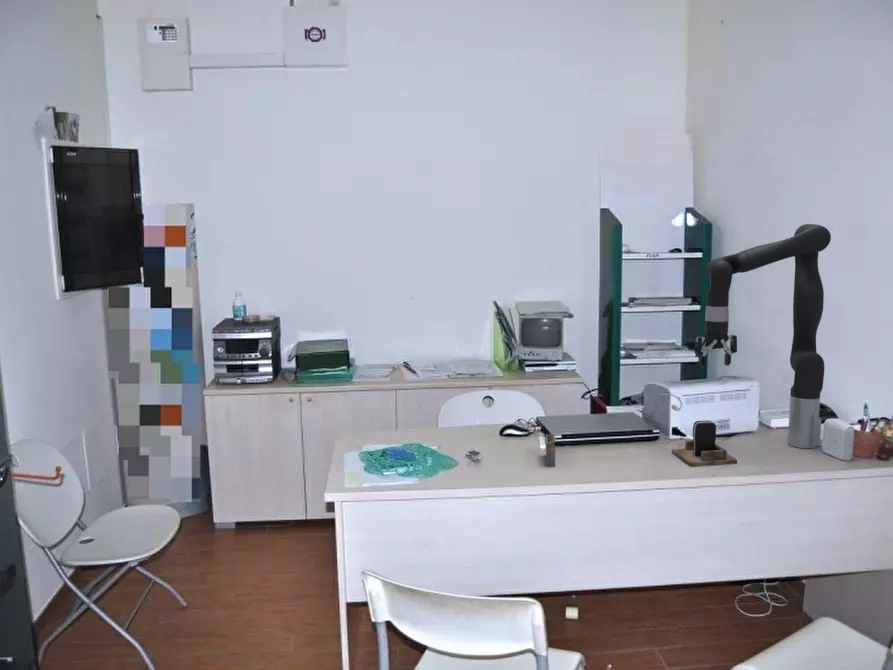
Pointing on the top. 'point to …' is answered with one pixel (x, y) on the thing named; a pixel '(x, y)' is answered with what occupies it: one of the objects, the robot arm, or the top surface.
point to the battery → (704, 436)
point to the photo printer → (838, 439)
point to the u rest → (703, 456)
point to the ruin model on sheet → (550, 450)
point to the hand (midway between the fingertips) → (715, 365)
